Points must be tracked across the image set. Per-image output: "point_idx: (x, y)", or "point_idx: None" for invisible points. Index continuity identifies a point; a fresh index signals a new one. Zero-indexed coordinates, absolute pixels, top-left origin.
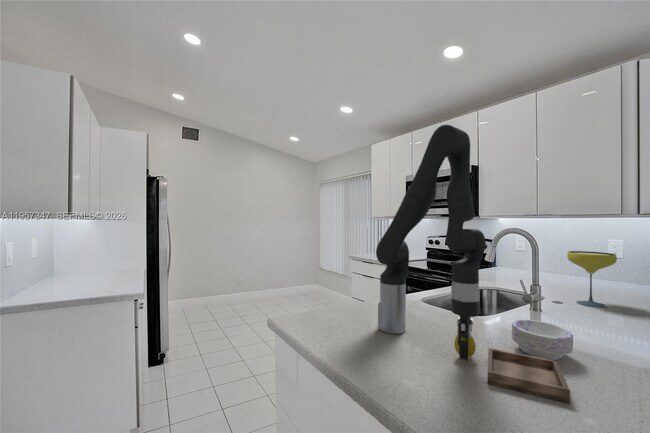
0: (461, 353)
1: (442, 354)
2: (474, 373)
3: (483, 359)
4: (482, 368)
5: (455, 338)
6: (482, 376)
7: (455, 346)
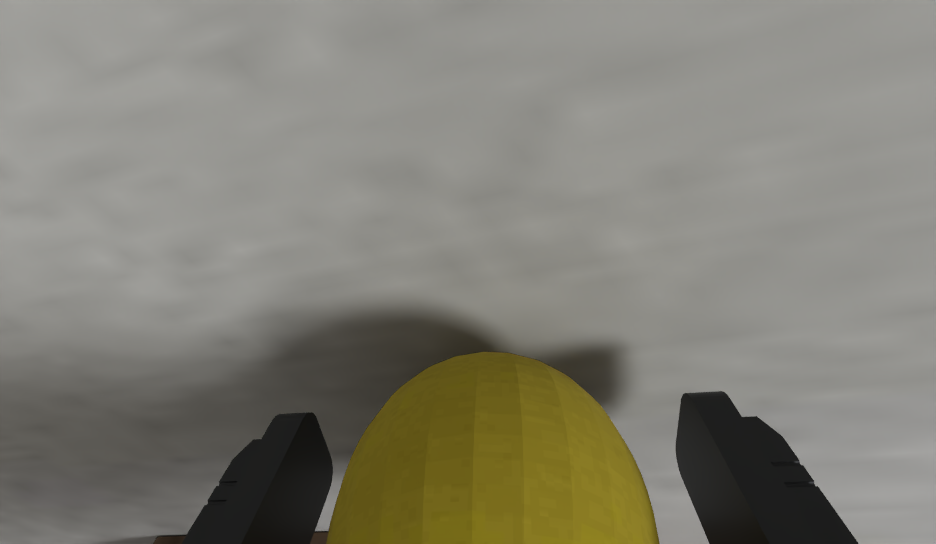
0: (222, 494)
1: (452, 135)
2: None
3: None
4: None
5: (438, 524)
6: None
7: (395, 416)
